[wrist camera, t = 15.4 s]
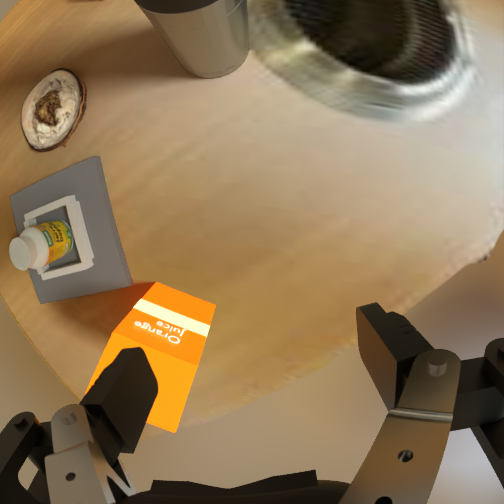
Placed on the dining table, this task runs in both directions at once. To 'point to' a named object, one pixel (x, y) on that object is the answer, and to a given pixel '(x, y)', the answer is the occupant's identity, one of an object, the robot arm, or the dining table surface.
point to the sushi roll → (53, 109)
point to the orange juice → (164, 346)
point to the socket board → (75, 232)
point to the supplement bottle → (41, 245)
